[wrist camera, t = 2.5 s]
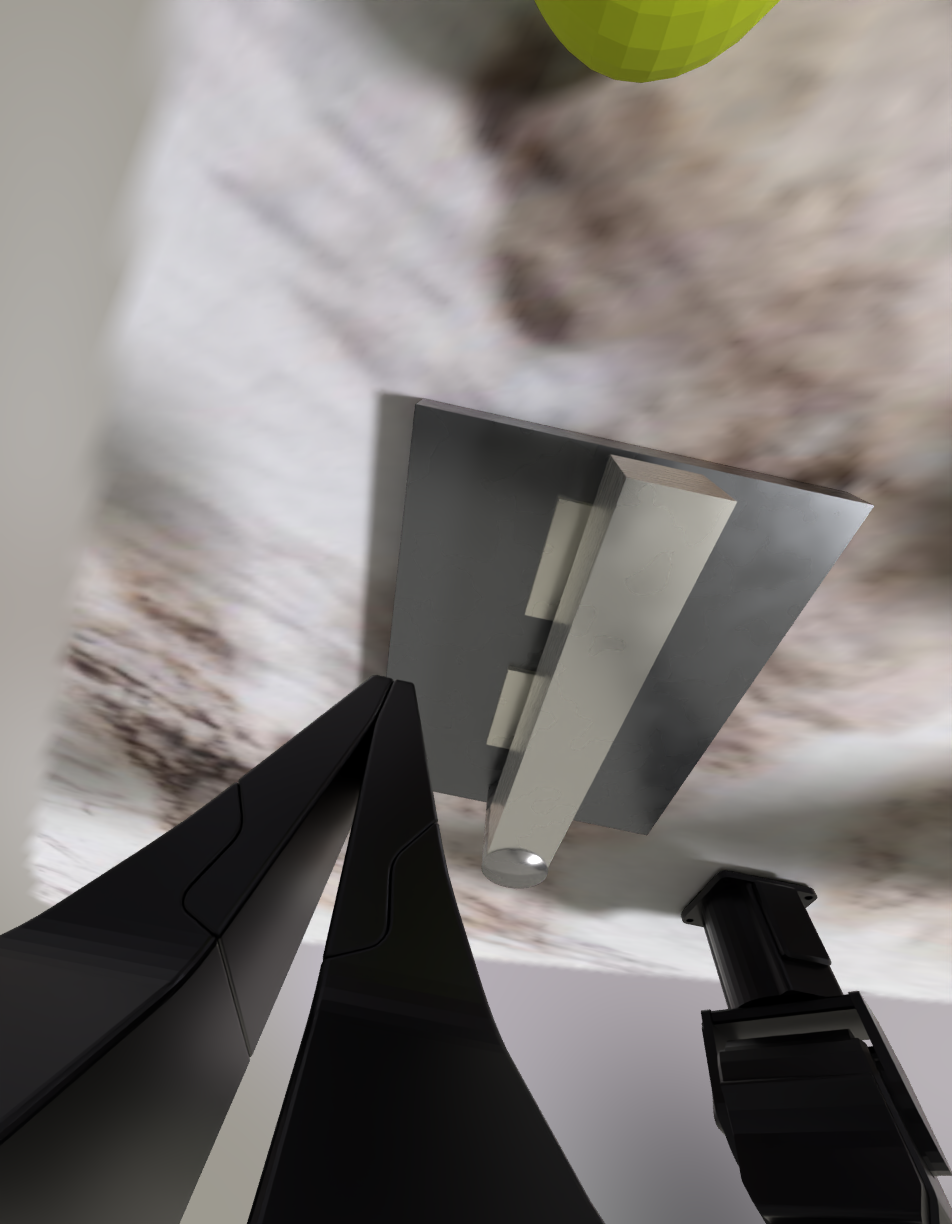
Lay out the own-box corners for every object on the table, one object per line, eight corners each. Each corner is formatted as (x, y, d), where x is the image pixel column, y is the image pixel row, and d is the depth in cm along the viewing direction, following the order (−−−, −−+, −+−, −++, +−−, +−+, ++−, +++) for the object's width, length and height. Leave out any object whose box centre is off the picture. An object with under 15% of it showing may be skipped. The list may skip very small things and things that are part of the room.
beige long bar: (536, 840, 25) (537, 893, 23) (480, 829, 25) (476, 880, 23) (705, 475, 14) (742, 503, 12) (607, 453, 14) (623, 477, 12)
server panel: (637, 817, 28) (646, 857, 25) (381, 764, 27) (369, 801, 25) (847, 492, 17) (895, 515, 14) (423, 398, 16) (408, 407, 14)
